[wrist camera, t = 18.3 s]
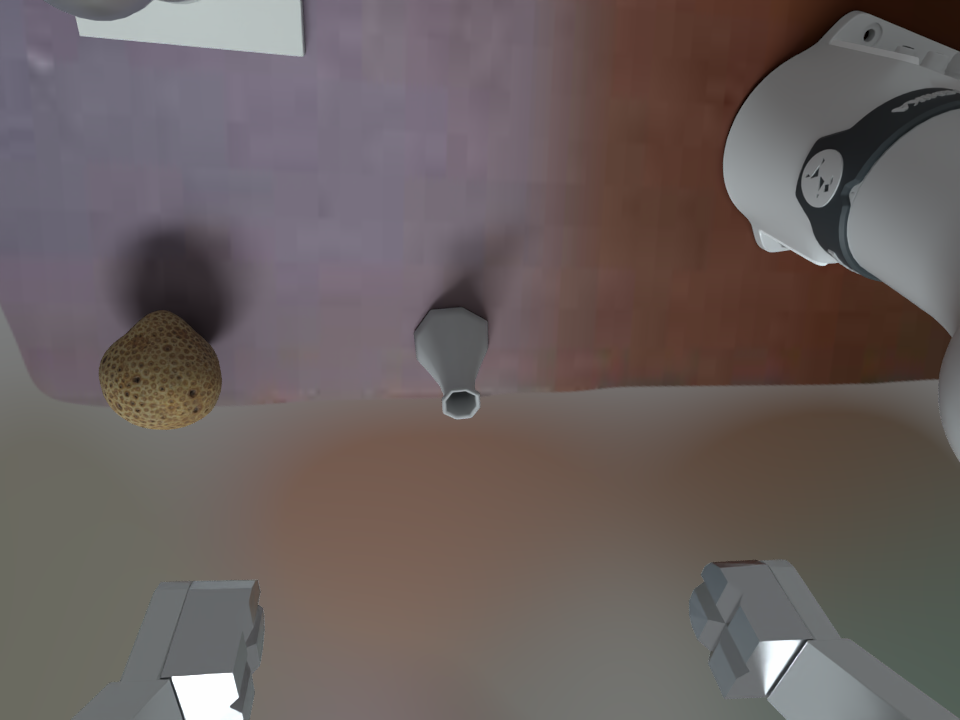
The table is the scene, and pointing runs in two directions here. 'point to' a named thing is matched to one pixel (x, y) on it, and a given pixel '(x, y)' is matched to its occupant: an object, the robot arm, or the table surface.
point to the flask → (453, 356)
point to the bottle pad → (211, 25)
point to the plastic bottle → (105, 7)
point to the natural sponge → (161, 373)
